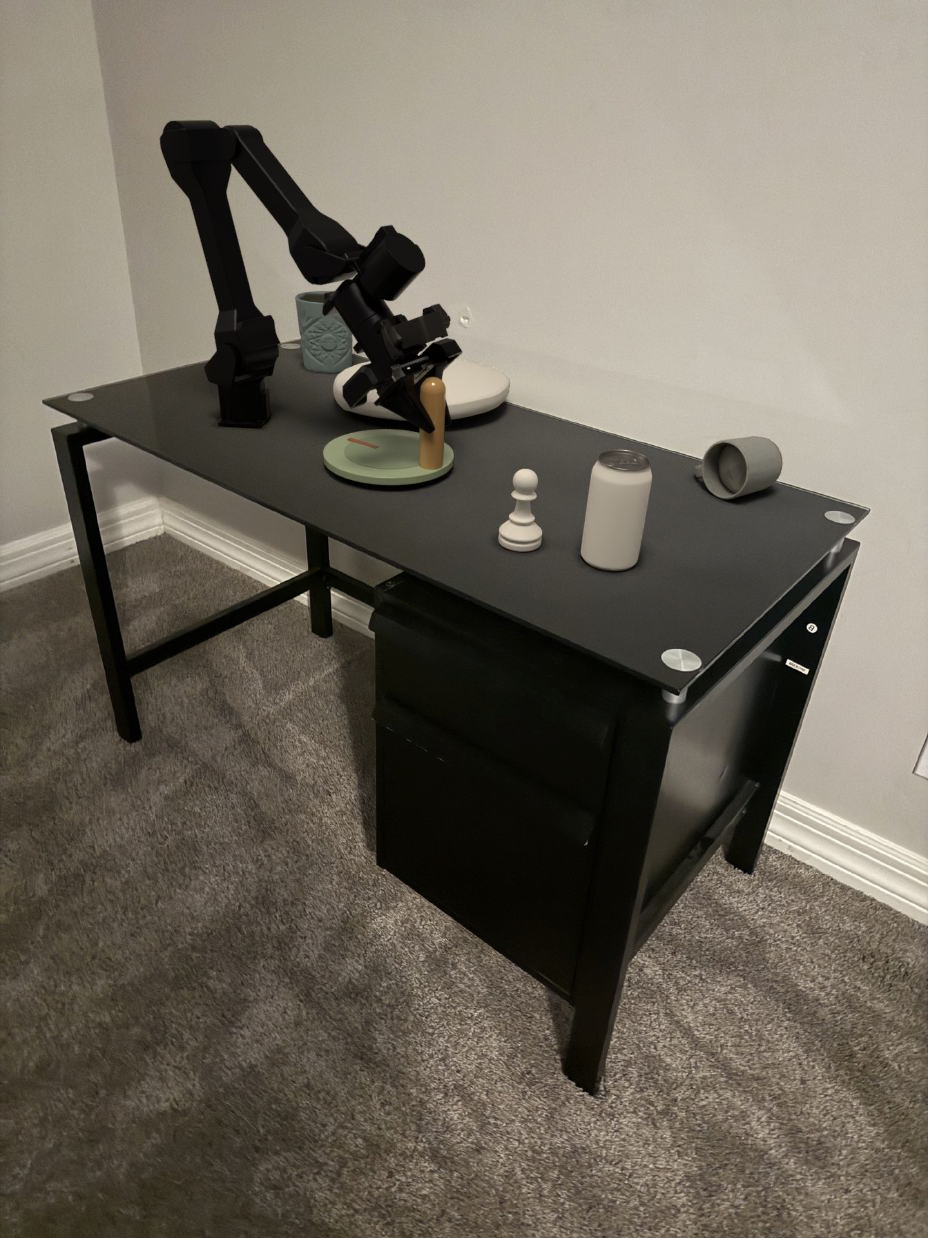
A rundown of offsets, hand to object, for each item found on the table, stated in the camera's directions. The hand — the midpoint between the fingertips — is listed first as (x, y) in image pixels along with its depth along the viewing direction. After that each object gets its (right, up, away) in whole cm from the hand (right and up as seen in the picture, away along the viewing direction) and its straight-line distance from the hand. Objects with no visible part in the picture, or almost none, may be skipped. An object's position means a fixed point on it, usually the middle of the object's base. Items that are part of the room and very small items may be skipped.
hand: (440, 428), depth 111 cm
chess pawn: (+9, -16, -10) cm, 21 cm away
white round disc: (-4, +10, +30) cm, 32 cm away
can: (+19, -18, -12) cm, 29 cm away
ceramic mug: (+39, -7, +7) cm, 40 cm away
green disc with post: (-7, -3, +8) cm, 11 cm away
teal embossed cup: (-22, +21, +46) cm, 55 cm away
